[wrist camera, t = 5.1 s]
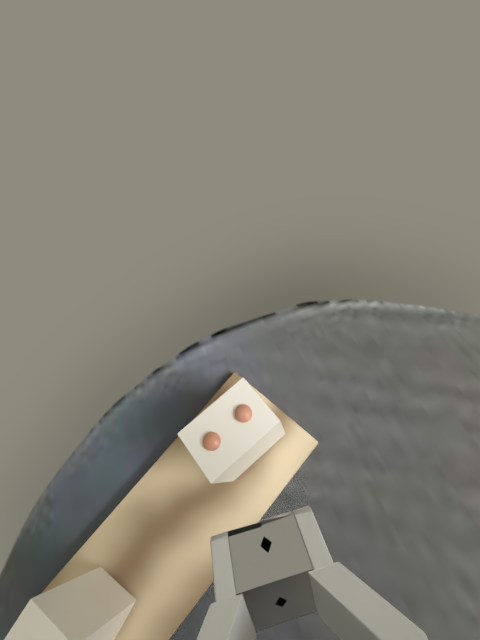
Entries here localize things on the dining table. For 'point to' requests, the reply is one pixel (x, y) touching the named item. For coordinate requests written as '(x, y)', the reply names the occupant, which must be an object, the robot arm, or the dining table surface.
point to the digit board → (182, 527)
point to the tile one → (76, 610)
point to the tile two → (232, 433)
